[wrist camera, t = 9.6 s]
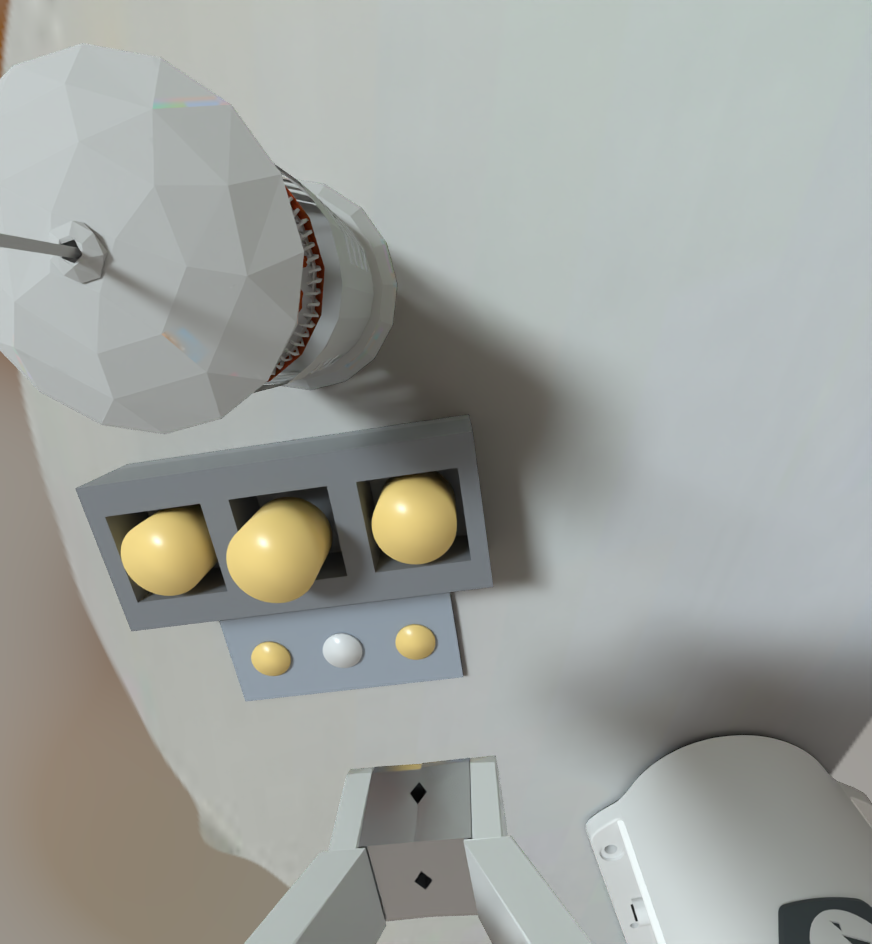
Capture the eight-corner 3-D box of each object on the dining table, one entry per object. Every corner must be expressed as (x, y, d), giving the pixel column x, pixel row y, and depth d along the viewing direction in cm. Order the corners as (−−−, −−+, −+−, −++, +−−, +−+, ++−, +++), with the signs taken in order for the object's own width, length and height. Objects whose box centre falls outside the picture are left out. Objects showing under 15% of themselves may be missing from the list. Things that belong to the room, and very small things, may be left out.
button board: (502, 668, 31) (510, 718, 27) (210, 700, 32) (179, 752, 28) (468, 414, 26) (472, 431, 22) (127, 464, 27) (75, 488, 23)
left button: (237, 561, 27) (213, 590, 24) (168, 570, 27) (136, 600, 25) (217, 494, 26) (189, 516, 23) (145, 504, 26) (109, 527, 23)
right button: (460, 532, 26) (462, 558, 24) (387, 542, 27) (380, 569, 24) (450, 461, 25) (450, 480, 22) (373, 472, 26) (364, 492, 23)
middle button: (340, 565, 25) (326, 597, 22) (263, 574, 25) (240, 608, 22) (322, 491, 24) (305, 515, 21) (242, 502, 24) (215, 527, 21)
